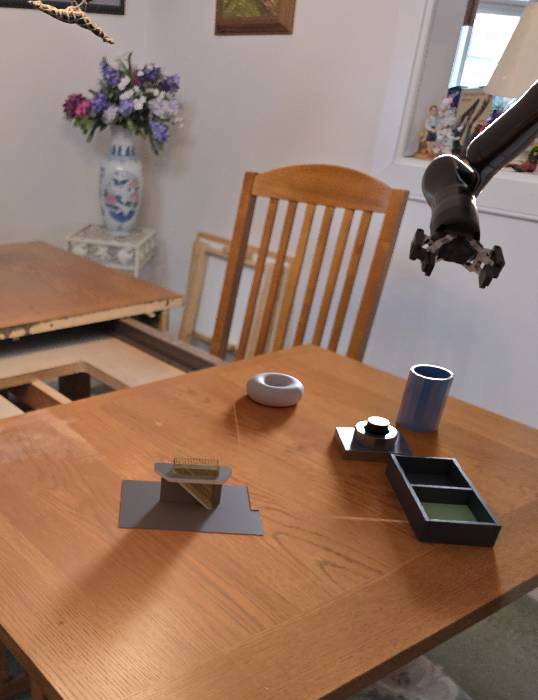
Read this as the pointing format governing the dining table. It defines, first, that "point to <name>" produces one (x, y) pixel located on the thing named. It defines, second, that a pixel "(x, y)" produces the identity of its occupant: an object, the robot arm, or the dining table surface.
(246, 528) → the platform
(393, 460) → the black divided tray
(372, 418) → the button
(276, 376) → the donut
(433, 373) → the cup
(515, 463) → the dining table surface
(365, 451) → the control block
